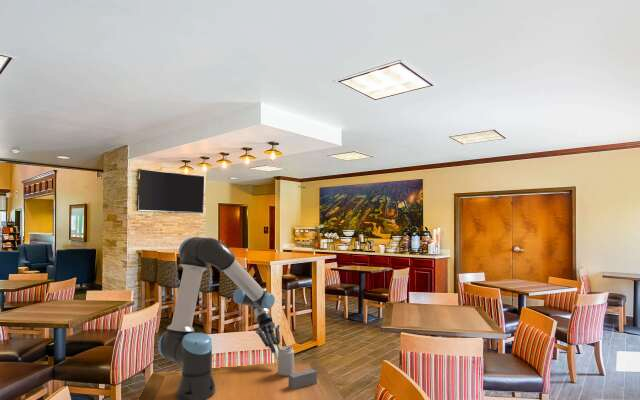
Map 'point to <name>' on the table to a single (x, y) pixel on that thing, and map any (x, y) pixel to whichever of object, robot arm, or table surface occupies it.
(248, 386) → the table surface
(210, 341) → the robot arm
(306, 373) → the block
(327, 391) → the table surface
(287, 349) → the can
